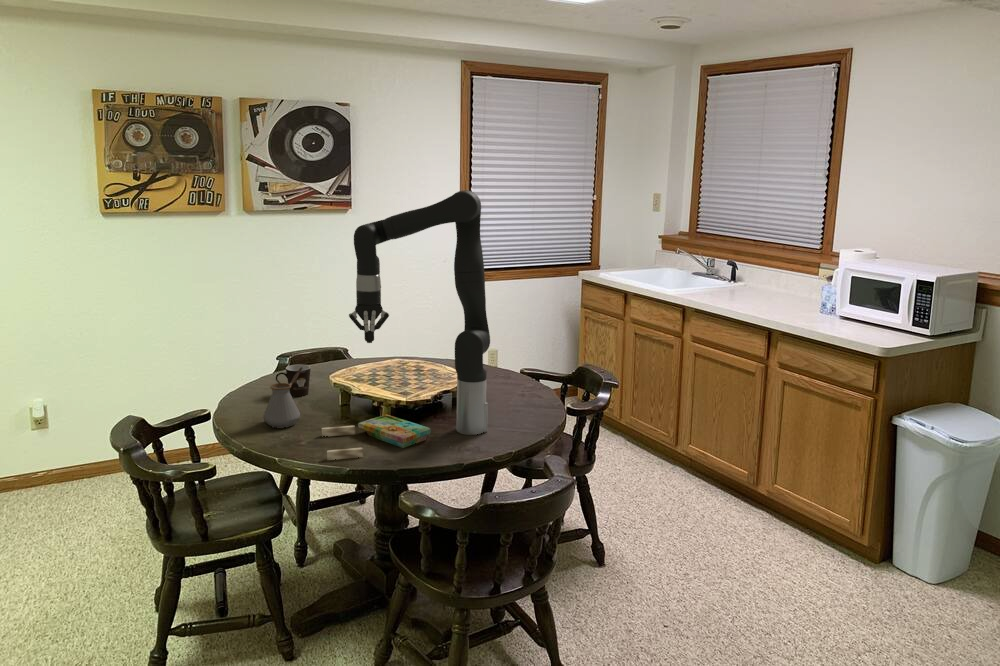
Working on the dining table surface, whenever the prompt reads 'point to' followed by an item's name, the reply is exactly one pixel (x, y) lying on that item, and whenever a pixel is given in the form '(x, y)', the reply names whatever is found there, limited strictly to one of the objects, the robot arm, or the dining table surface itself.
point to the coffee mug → (298, 379)
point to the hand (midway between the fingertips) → (369, 342)
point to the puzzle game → (395, 430)
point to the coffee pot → (282, 405)
